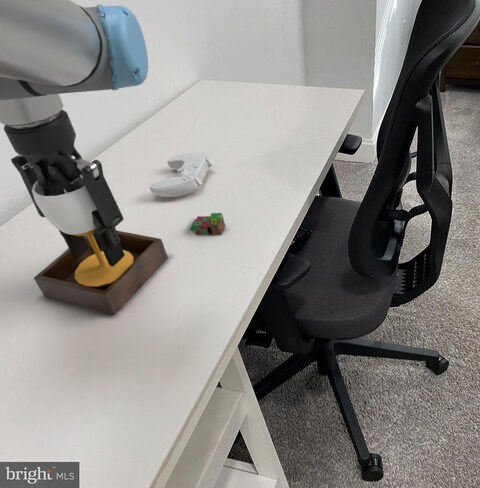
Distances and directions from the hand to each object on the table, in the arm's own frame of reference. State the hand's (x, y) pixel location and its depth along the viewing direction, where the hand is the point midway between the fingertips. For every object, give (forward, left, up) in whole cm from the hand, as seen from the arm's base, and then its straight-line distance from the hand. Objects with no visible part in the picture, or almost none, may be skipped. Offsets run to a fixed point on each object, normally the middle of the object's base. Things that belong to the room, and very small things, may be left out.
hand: (99, 256), depth 75 cm
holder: (0, 0, -4) cm, 4 cm away
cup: (0, 0, -3) cm, 3 cm away
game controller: (+29, +4, -4) cm, 30 cm away
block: (+16, -9, -4) cm, 19 cm away
